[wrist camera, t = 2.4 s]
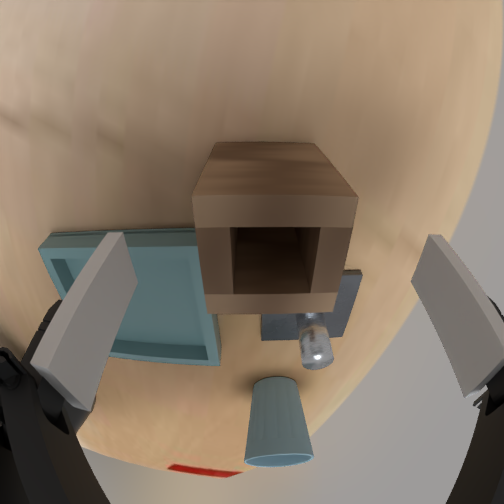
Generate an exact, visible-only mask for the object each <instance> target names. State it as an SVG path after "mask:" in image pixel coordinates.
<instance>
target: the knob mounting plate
mask: <svg viewBox="0 0 504 504" xmlns="http://www.w3.org/2000/svg"><path fill="white" fill-rule="evenodd" d="M362 276H363V275H362V272H361V270H352V271H343V274H342V278H341V282H340V286H339V290H338V294H337V297H336V301H335V305H334V308H333V312H319V313H291V314H262V327H261V341H266V340H298V339H299V344H300V351H301V358H302V365H303V367H304V368H306V369H310V370H317V369H322V368H325V367H327V366H328V365H330V364H331V363H332V362H333V360H334V357H333V352H332V348H331V343H330V339H329V338H333V337H342V336H343V333H344V330H345V328H346V325H347V322H348V319H349V316H350V313H351V310H352V307H353V304H354V301H355V298H356V295H357V292H358V289H359V286H360V282H361V279H362Z"/></svg>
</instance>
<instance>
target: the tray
mask: <svg viewBox="0 0 504 504" xmlns="http://www.w3.org/2000/svg"><path fill="white" fill-rule="evenodd" d="M109 232H123V234H124V237H125V241H126V245H127V248H128V252H129V255H130V258H131V262H132V265H133V268H134V271H135V274H136V277H137V281H138V284H137V286H136V288H135V291H134V293H133V295H132V298H131V300H130V302H129V305H128V307H127V310H126V312H125V314H124V317H123V319H122V322H121V324H120V327H119V330H118V332H117V335H116V337H115V340H114V343H113V345H112V348H111V351H110V353H109V357H116V358H123V359H131V360H140V361H149V362H160V363H172V364H186V365H206V366H220V361H221V348H222V347H221V340H220V333H219V326H218V319H217V314H207V308H206V301H205V295H204V289H203V282H202V275H201V269H200V262H199V254H198V247H197V239H196V232H195V228H166V229H133V230H106V231H83V232H63V233H51V234H50V235H49V236H48V237H47V239H46V240H45V241H44V242H43V243H42V244H41V245H40V247H39V248H38V250H39V252H40V255H41V257H42V259H43V262H44V264H45V266H46V268H47V270H48V273H49V275H50V277H51V279H52V281H53V283H54V285H55V287H56V289H57V291H58V293H59V295H60V297H61V299H62V300H63V299H64V298H65V296H66V294H67V293H68V291H69V289H70V288H71V286H72V285H73V283H74V281H75V280H76V278H77V277H78V275H79V274H80V272H81V271H82V269H83V267H84V266H85V264H86V263H87V261H88V260H89V258H90V257H91V256H92V254H93V253H94V251H95V250H96V248H97V247H98V245H99V244H100V243H101V241H102V240H103V238H104V237H105V236H106V234H107V233H109Z"/></svg>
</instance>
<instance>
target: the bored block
mask: <svg viewBox="0 0 504 504" xmlns="http://www.w3.org/2000/svg"><path fill="white" fill-rule="evenodd" d="M191 197H192V206H193V215H194V223H195V232H196V239H197V247H198V254H199V262H200V269H201V275H202V282H203V289H204V295H205V301H206V308H207V314H291V313H319V312H333V308H334V305H335V301H336V297H337V294H338V290H339V286H340V282H341V278H342V274H343V270H344V265H345V261H346V257H347V252H348V248H349V243H350V239H351V234H352V229H353V224H354V219H355V214H356V208H357V203H358V196H357V194H356V193H355V192H354V191H353V189H352V188H351V187H350V185H349V184H348V183H347V182H346V180H345V179H344V178H343V177H342V175H341V174H340V173H339V172H338V171H337V169H336V168H335V167H334V166H333V165H332V163H331V162H330V161H329V160H328V159H327V157H326V156H325V155H324V154H323V153H322V152H321V150H320V149H319V148H318V147H317V146H316V145H315V144H311V143H288V142H225V143H216V144H215V146H214V148H213V150H212V152H211V154H210V156H209V158H208V161H207V163H206V165H205V167H204V169H203V171H202V173H201V176H200V178H199V180H198V182H197V184H196V187H195V189H194V191H193V193H192V196H191Z"/></svg>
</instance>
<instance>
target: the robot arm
mask: <svg viewBox="0 0 504 504" xmlns="http://www.w3.org/2000/svg"><path fill="white" fill-rule="evenodd" d="M411 283H412V285H413V286H414V288H415V290H416V292H417V294H418V296H419V298H420V299H421V301H422V303H423V305H424V307H425V309H426V311H427V313H428V315H429V317H430V319H431V321H432V323H433V325H434V327H435V329H436V331H437V333H438V336H439V338H440V340H441V342H442V344H443V347H444V349H445V351H446V353H447V356H448V358H449V360H450V363H451V365H452V367H453V370H454V373H455V375H456V378H457V380H458V383H459V385H460V388H461V390H462V393H463V396H464V398H466V397H468V396H471V395H473V394H476V393H477V392H479V391H480V390H481V389H482V388H483V387H484V386H485V385H487V388H488V390H487V391H486V392H484V393H483V394H482V395H481V396H480V397H479V398H478V399H477V400H476V401H474V404H473V406H476V405H477V404H478V403H479V402H480V401H481V400H482V403H481V404H480V405H479V406H478V407H477V408H479V409H480V412H479V416H478V420H477V424H476V427H475V431H474V434H473V437H472V440H471V443H470V446H469V450H468V452H467V455H466V458H465V461H464V463H463V466H462V469H461V471H460V473H459V476H458V478H457V480H456V483H455V485H454V487H453V489H452V492H451V494H450V496H449V498H448V500H447V502H446V504H504V316H503V315H501V312H500V310H499V308H498V307H497V306H496V304H495V303H494V302H493V301H492V300H491V299H490V298H489V297H488V296H487V295H486V293H485V292H484V291H483V289H482V288H481V286H480V285H479V283H478V282H477V281H476V279H475V278H474V276H473V275H472V273H471V272H470V271H469V270H468V268H467V267H466V265H465V264H464V263H463V262H462V260H461V259H460V258H459V256H458V255H457V254H456V252H455V251H454V250H453V249H452V247H451V246H450V245H449V244H448V242H447V241H446V240H445V239H444V238H443V236H442V235H434V234H429V235H428V238H427V241H426V244H425V246H424V249H423V252H422V255H421V257H420V260H419V262H418V265H417V268H416V270H415V272H414V275H413V277H412V280H411ZM137 284H138V281H137V277H136V274H135V271H134V268H133V265H132V262H131V258H130V255H129V252H128V248H127V245H126V241H125V237H124V234H123V232H109V233H107V234H106V236H105V237H104V238H103V240H102V241H101V243H100V244H99V245H98V247H97V248H96V250H95V251H94V253H93V254H92V256H91V257H90V258H89V260H88V261H87V263H86V264H85V266H84V267H83V269H82V271H81V272H80V274H79V275H78V277H77V278H76V280H75V281H74V283H73V285H72V286H71V288H70V289H69V291H68V293H67V294H66V296H65V298H64V299H63V300H58V301H57V302H56V303H55V304H54V305H53V306H52V307H51V308H50V309H49V310H48V312H47V313H46V315H45V317H44V319H43V322H41V324H40V326H39V328H38V331H36V333H35V335H34V337H33V339H32V341H31V343H30V345H29V347H28V349H27V351H26V353H25V355H24V357H23V359H22V361H21V362H19V361H18V359H17V358H16V357H15V356H14V355H13V354H12V352H11V351H10V350H9V349H8V348H4V347H2V348H0V504H110V502H109V500H108V499H107V497H106V495H105V493H104V492H103V490H102V488H101V486H100V485H99V483H98V481H97V479H96V477H95V476H94V473H93V471H92V469H91V467H90V465H89V463H88V461H87V459H86V457H85V455H84V453H83V450H82V448H81V446H80V444H79V441H78V439H77V436H76V433H77V431H78V430H79V429H80V427H81V426H82V424H83V423H84V422H85V420H86V419H87V417H88V416H89V414H90V413H91V412H92V411H93V408H94V405H95V402H96V397H95V395H96V392H97V389H98V385H99V382H100V379H101V376H102V373H103V370H104V368H105V365H106V362H107V359H108V356H109V353H110V351H111V348H112V345H113V343H114V340H115V337H116V335H117V332H118V330H119V327H120V324H121V322H122V319H123V317H124V314H125V312H126V310H127V307H128V305H129V302H130V300H131V298H132V295H133V293H134V291H135V288H136V286H137Z"/></svg>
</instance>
